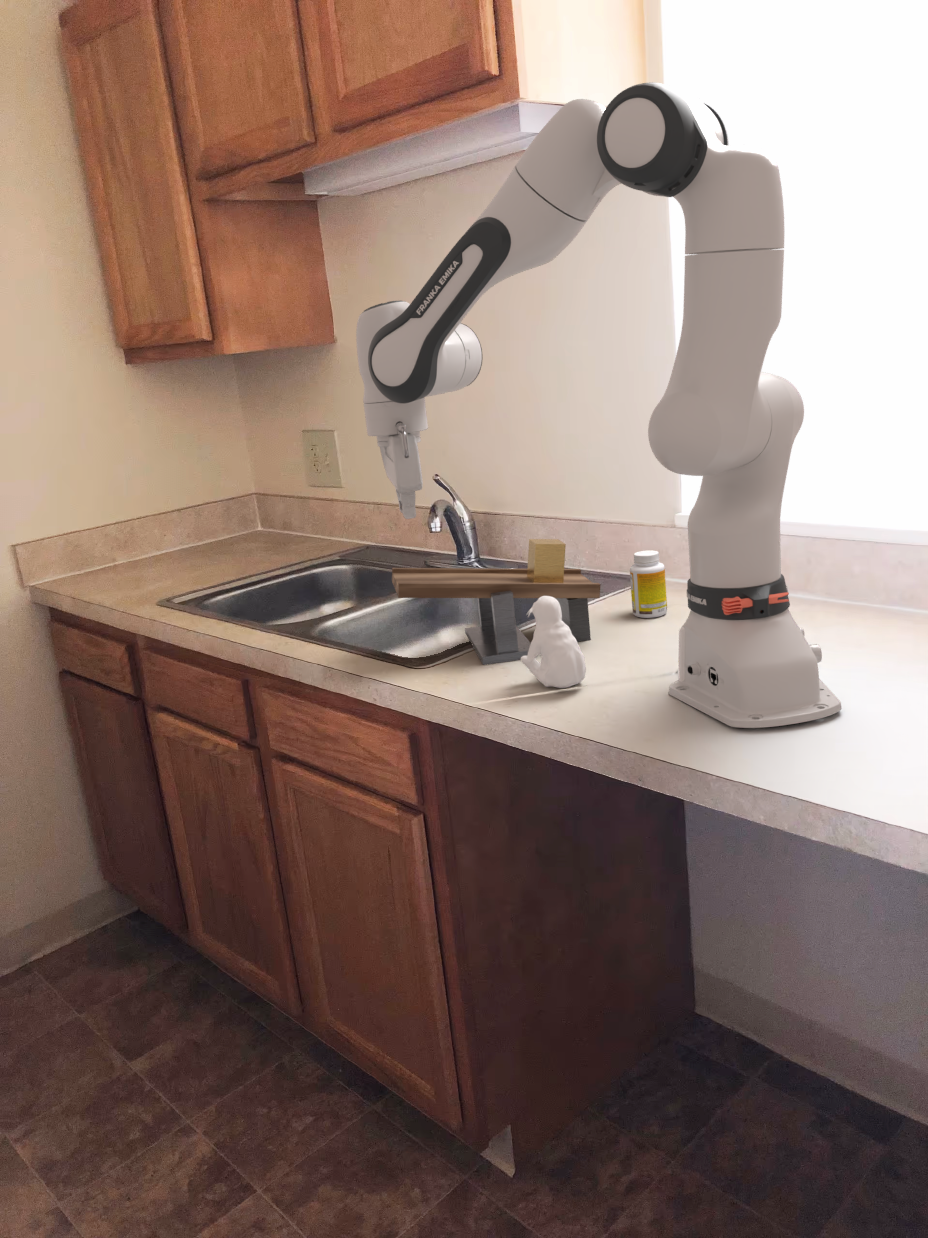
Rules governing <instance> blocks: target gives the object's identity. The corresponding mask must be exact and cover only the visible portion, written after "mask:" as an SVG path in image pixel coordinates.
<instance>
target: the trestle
mask: <svg viewBox="0 0 928 1238" xmlns="http://www.w3.org/2000/svg"><path fill="white" fill-rule="evenodd" d="M476 599H477V611H478V616H479V617H478V618H479V626H473V627H466V628H465V627H464V633H465V636H466V637H467V639H468V641H469V642H472V644H473V646H472V648H473V647H474V648H473V649H475V650H474V651H475V654H476V655H477V657H478V659H479V660H480V662H481V664H482V665H483V666H486V665H487V664H488V665H494V664H500V663H507V662H512V661H513V662H515V661H521V657H522V656H527V655H528V651H529V648H530V645H531V641H529V639H528V638H527V637H526V636H525V634H524V633H523V632H522V631H521V629H520V628H519V627H518V626H517V623H516V621H517V620H516V613H515V602H514V598H513V593H512V592H511V591H505V592H498V593H491V598H476ZM555 599H557V601H558V602H559V604H560V607H561V612H562V621H563V622H564V623H565V624H566V625H567V626H568V627H569V628H570V630H571V632H572V635H573V636H574V637H575V639H576V640H577V643H579V642H585V641H591V640H592V639H591V629H590V628H591V627H590V615H589V614H590V613H589V612H590V611H589V602H588V601H589V600H588V599H589V598H555ZM472 644H471V645H472ZM488 665H487V666H488Z"/></svg>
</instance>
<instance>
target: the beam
mask: <svg viewBox="0 0 928 1238" xmlns="http://www.w3.org/2000/svg"><path fill="white" fill-rule="evenodd" d="M527 569H528V568H503V567H502V568H491V567H490V568H488V567H487V568H486V567H484V568H483V567H482V568H481V567H480V568H479V567H478V568H477V567H475V568H474V567H473V568H468V567H462V568H461V567H460V568H459V567H457V568H456V567H450V568H449V567H392V568H391V582H392V585H393V588H394V590H395V592H396V596H397V597H398V599H477V598H491V593H498V592H505V591H511V592H512V593H513V599H539V598H540V597H542V596H551V597H554V598H555V599H556V598H587V599H600V597H601V583H599V582H593V581H592V580H590V579H588V578H587V577H586V576H584V574H582V570H581V569H580V568H564V580H563V583H533V582H532V581H531V580H529V579H528V578H527Z"/></svg>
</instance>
